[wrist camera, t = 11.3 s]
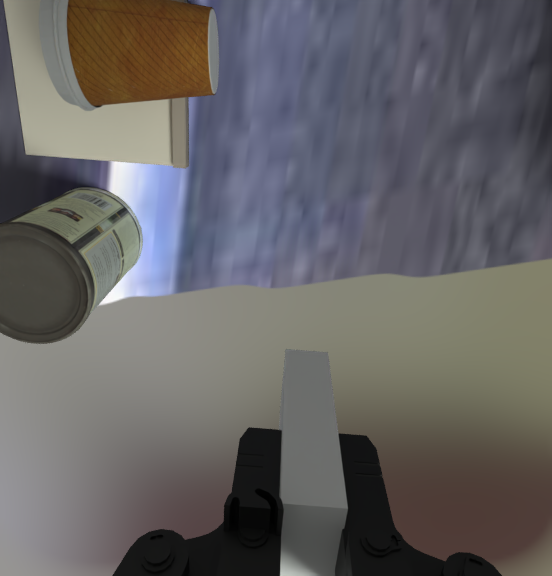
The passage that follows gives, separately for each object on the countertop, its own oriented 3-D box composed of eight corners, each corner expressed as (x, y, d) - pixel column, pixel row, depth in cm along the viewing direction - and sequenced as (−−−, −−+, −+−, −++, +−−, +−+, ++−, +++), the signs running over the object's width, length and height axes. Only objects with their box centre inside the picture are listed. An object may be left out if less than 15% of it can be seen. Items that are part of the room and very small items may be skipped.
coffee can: (63, 283, 51) (-16, 348, 38) (35, 191, 47) (-63, 229, 34) (152, 276, 50) (104, 340, 38) (132, 182, 46) (70, 218, 33)
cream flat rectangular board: (187, -83, 37) (183, -90, 36) (188, 166, 45) (185, 168, 44) (-7, -98, 38) (-18, -105, 36) (29, 153, 46) (20, 155, 44)
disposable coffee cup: (221, 120, 43) (92, 115, 43) (221, 5, 40) (84, 0, 40) (206, 109, 34) (42, 103, 34) (205, -41, 31) (28, -48, 31)
